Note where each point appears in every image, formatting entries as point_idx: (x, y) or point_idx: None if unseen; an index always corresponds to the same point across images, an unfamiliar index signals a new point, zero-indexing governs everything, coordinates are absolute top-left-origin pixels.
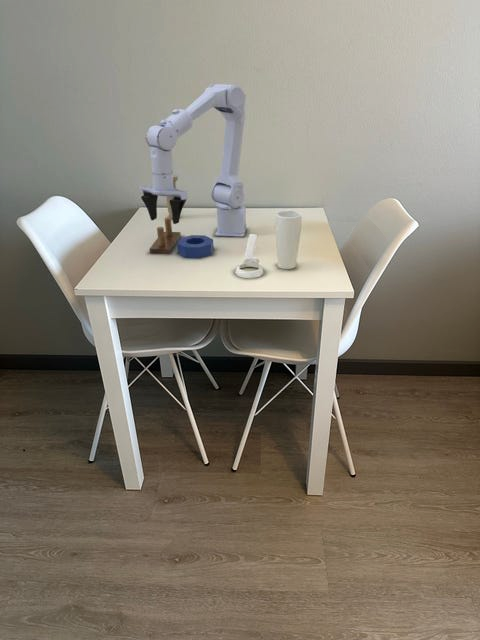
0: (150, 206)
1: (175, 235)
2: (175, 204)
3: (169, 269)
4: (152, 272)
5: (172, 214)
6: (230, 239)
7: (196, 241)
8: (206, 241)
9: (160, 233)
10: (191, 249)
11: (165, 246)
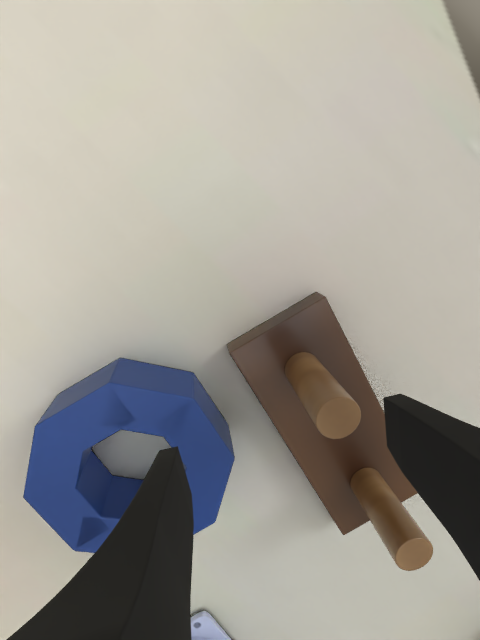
0: (473, 470)
1: (334, 494)
2: (24, 636)
3: (69, 193)
4: (113, 102)
5: (160, 501)
6: None
7: None
8: (74, 509)
9: (314, 389)
10: (78, 395)
11: (275, 368)
